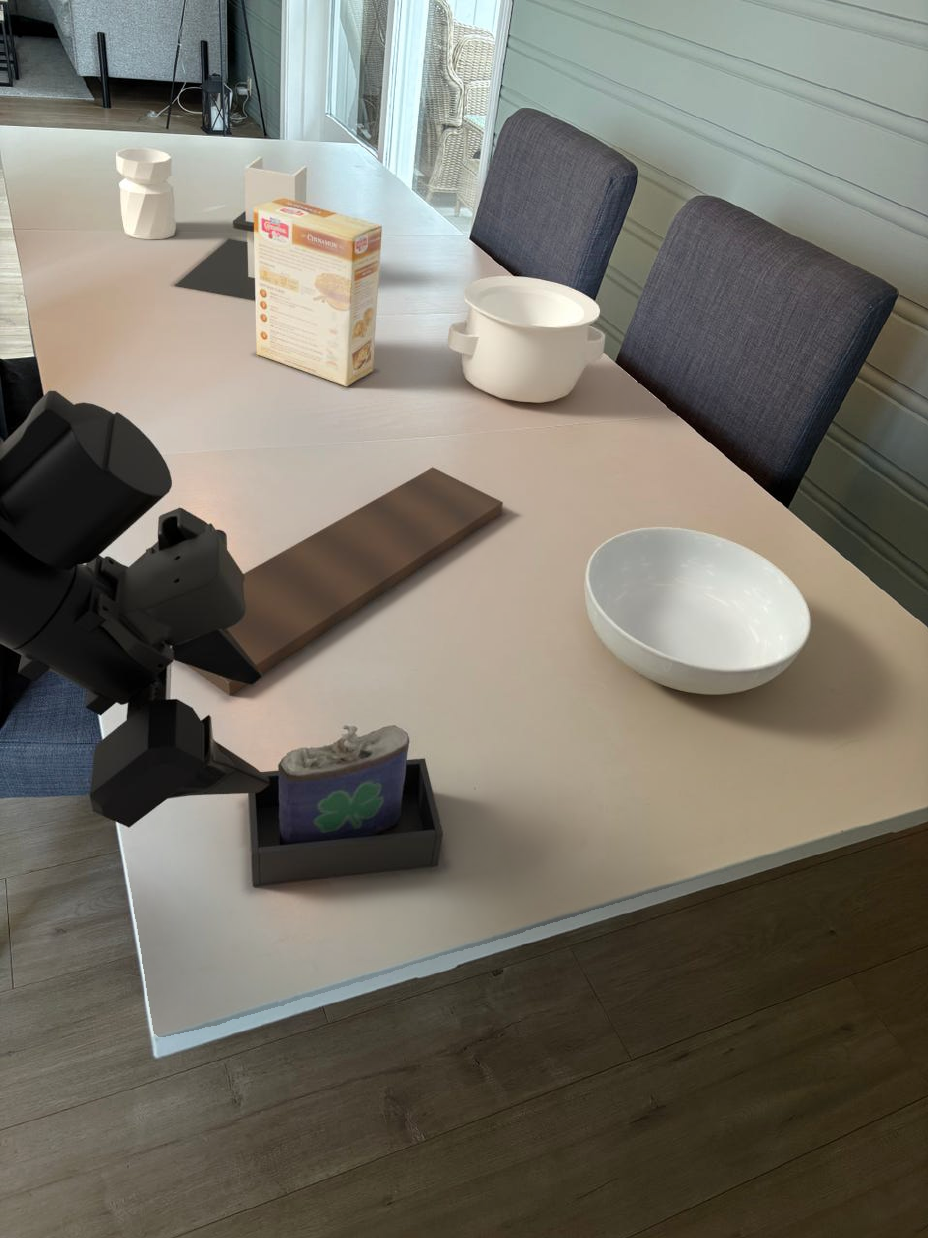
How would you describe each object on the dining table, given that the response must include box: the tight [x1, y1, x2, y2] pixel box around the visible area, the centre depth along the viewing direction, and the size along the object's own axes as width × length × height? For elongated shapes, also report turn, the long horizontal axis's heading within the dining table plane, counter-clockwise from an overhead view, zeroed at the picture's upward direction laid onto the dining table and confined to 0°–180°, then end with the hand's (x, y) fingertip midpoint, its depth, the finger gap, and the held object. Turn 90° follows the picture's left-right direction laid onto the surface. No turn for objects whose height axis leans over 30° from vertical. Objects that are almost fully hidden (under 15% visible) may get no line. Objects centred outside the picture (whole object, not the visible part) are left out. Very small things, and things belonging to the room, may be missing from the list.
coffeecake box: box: [254, 198, 383, 387], centre depth 120 cm, size 15×7×20 cm, turn 63°
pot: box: [446, 275, 607, 404], centre depth 124 cm, size 22×17×12 cm
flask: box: [277, 724, 410, 846], centre depth 63 cm, size 9×3×11 cm, turn 117°
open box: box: [247, 757, 444, 887], centre depth 65 cm, size 13×7×4 cm, turn 102°
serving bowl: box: [584, 526, 812, 695], centre depth 86 cm, size 21×21×7 cm
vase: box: [115, 147, 177, 240], centre depth 153 cm, size 9×9×12 cm
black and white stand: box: [174, 156, 308, 301], centre depth 144 cm, size 25×24×16 cm
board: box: [185, 466, 504, 696], centre depth 91 cm, size 40×10×2 cm, turn 143°
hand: (260, 729), depth 58 cm, fingers open, 9 cm apart
